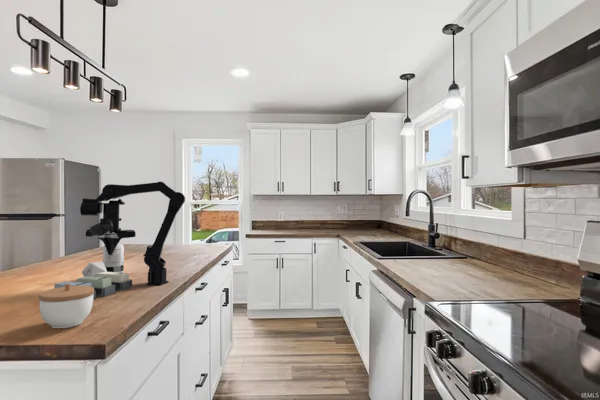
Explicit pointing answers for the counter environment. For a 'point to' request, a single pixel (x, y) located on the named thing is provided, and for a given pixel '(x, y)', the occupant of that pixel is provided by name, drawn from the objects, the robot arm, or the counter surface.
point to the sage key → (96, 281)
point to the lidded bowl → (66, 305)
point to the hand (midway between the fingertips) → (110, 254)
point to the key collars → (112, 288)
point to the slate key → (72, 284)
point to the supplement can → (114, 259)
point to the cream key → (115, 276)
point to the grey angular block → (94, 269)
